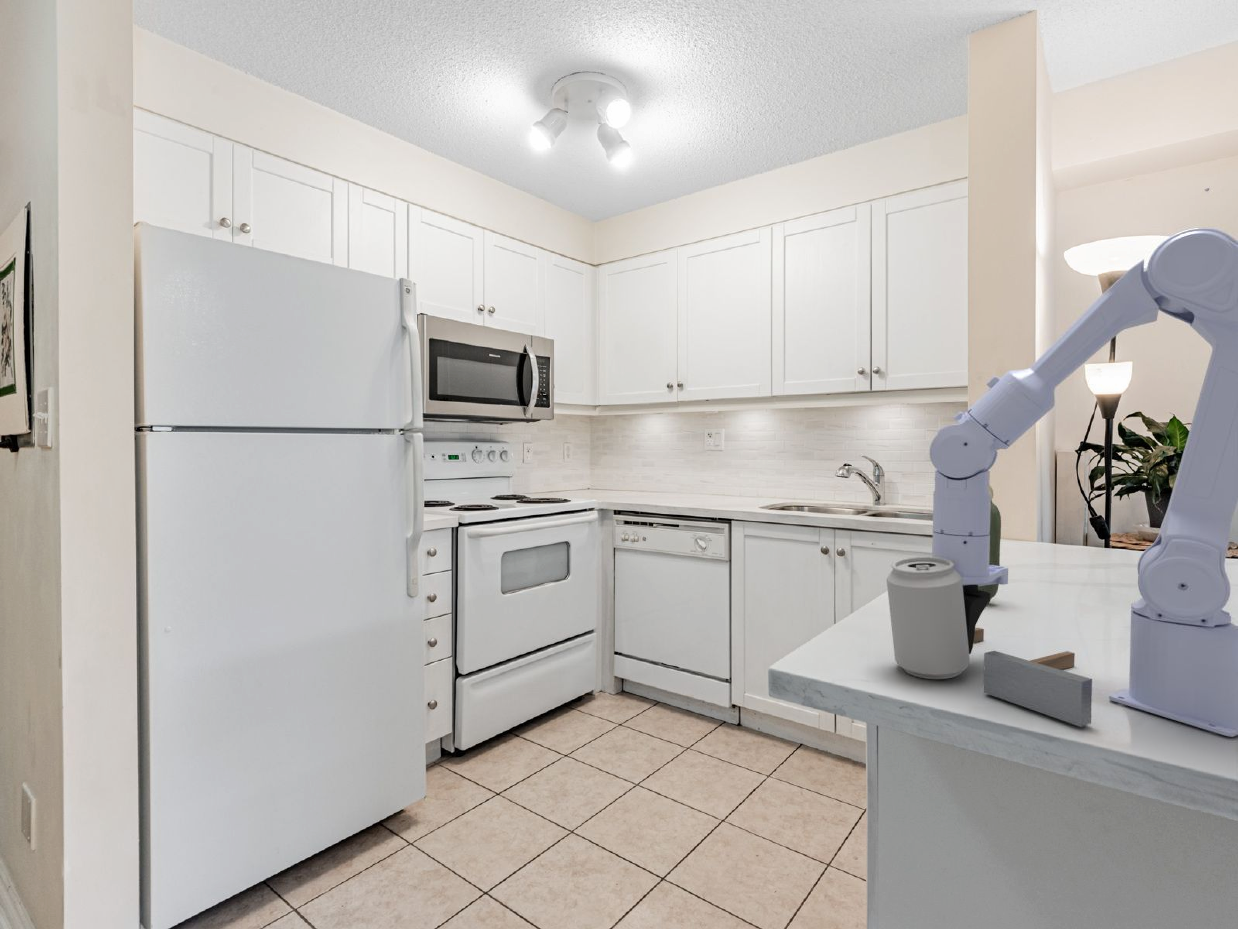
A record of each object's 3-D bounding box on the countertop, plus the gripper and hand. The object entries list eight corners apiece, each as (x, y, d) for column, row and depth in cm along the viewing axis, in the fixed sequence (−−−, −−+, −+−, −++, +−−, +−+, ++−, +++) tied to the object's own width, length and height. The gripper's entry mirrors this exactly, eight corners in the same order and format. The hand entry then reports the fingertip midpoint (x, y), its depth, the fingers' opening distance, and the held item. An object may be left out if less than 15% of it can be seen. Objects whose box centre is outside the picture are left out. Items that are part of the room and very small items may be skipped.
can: (965, 654, 74) (955, 551, 73) (975, 683, 68) (965, 570, 67) (894, 654, 77) (884, 554, 76) (897, 681, 70) (885, 573, 69)
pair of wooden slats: (1074, 666, 74) (1074, 653, 74) (1000, 686, 68) (1000, 672, 68) (977, 639, 85) (977, 627, 85) (905, 654, 78) (905, 642, 78)
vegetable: (1005, 608, 100) (1007, 477, 100) (976, 607, 101) (978, 477, 100) (989, 601, 105) (991, 476, 104) (962, 601, 105) (964, 476, 104)
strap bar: (1091, 723, 58) (1092, 679, 58) (1080, 727, 58) (1081, 682, 58) (993, 689, 66) (994, 650, 66) (983, 692, 66) (984, 653, 66)
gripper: (969, 524, 80) (966, 634, 81) (886, 532, 74) (883, 651, 74) (1027, 532, 74) (1024, 651, 75) (941, 541, 68) (938, 670, 68)
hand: (957, 652), depth 74 cm, fingers closed, pressing on can
